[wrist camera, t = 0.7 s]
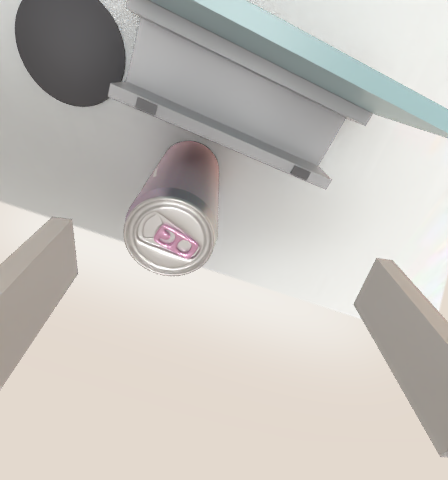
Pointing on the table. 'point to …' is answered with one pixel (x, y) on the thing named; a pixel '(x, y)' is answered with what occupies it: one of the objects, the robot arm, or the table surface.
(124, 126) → the table surface
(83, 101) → the coaster
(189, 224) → the beverage can
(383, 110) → the cover
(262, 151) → the grey rectangular tray
